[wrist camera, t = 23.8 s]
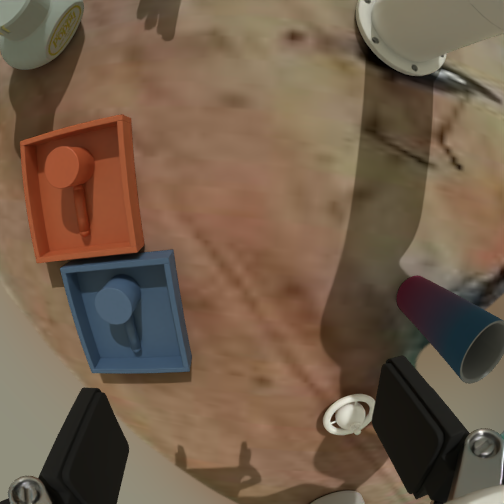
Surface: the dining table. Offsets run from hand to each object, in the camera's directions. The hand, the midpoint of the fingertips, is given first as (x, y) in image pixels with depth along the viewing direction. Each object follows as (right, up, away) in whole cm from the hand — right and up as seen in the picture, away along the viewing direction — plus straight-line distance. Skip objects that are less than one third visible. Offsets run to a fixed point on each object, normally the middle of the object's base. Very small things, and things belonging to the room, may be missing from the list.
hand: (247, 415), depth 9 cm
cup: (+20, 0, +27) cm, 34 cm away
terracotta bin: (-18, +12, +20) cm, 29 cm away
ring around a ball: (+14, -17, +31) cm, 38 cm away
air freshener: (-23, +31, +15) cm, 41 cm away
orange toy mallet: (-18, +12, +20) cm, 29 cm away
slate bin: (-13, -1, +24) cm, 28 cm away
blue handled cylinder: (-14, -2, +24) cm, 28 cm away
